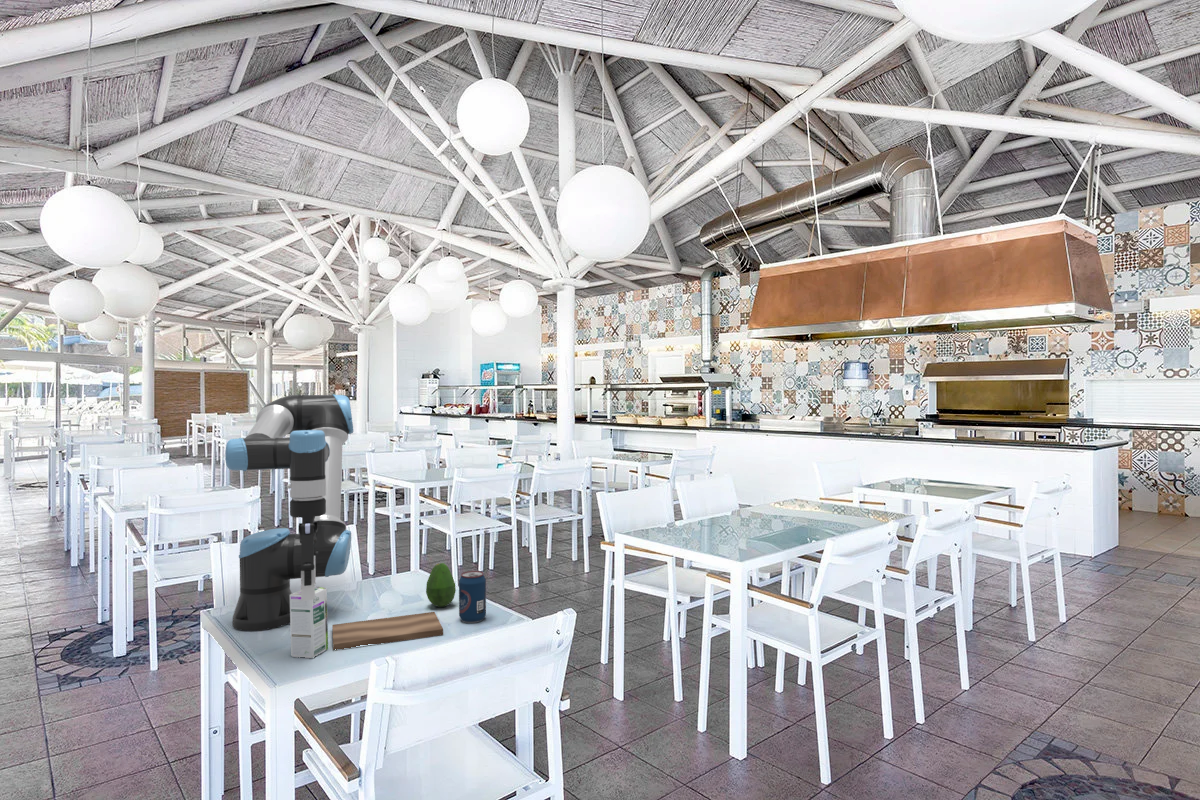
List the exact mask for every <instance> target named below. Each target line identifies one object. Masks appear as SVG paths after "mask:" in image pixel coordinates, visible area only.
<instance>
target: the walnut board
mask: <svg viewBox="0 0 1200 800" xmlns="http://www.w3.org/2000/svg"><path fill="white" fill-rule="evenodd" d="M331 626H332V627H331V628H332V651H333V650H335V649H336V650H335V651H338V650H337V649H342V650H345V649H344V648H349V649H352V648H351V647H356V646H360V645H368V644H377V645H382V644H381V643H384V644H391V643H397V642H404V641H411V640H418V639H425V638H431V637H438V636H439V637H440V636H444V628H443V626H442V624H441V622H440V620H439V618H438V616H437V614H436V612H435V611H431V612H430V611H429V612H421V613H413V614H407V615H406V614H405V615H398V616H391V617H389V616H388V617H384V618H383V617H382V618H374V619H366V620H360V621H351V622H343V623H334V624H331ZM390 642H391V643H390ZM356 648H357V647H356Z"/></svg>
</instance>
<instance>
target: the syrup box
mask: <svg viewBox="0 0 1200 800" xmlns="http://www.w3.org/2000/svg"><path fill="white" fill-rule="evenodd" d="M327 591H328V589H327V588H326V587H322V586H315V599H313V600H304V601H301V589H299V590H297V591H295V592H293V593H292V592H291V593H292V594H290V623H289V624H290V625H289V626H290V654H291V655H290V656H291V658H297V659H298V657H299V659H301V658H300V657H305V658H304V659H309V658H313V657H315V656H316V657H318V656H319V655H320V653H321V654H322V653H324V652H326V651H327V650H328V649H329V630H328V629H329V628H328V627H329V625H328V594H327V593H328V592H327ZM325 650H326V651H325ZM318 654H319V655H318ZM316 657H315V658H316ZM313 659H314V658H313Z"/></svg>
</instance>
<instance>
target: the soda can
mask: <svg viewBox="0 0 1200 800" xmlns="http://www.w3.org/2000/svg"><path fill="white" fill-rule="evenodd" d="M458 615H459V618H460V619H461V622H462V623H465V624H475V623H479V622H480V623H481V622H482V621H483V620H484V619H485V617H486V615H487V579H486V577H485V575H484V571H480V570H467V571H464V572H462V573H461V574H460V578H459V579H458Z"/></svg>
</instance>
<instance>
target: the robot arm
mask: <svg viewBox="0 0 1200 800" xmlns="http://www.w3.org/2000/svg"><path fill="white" fill-rule="evenodd" d="M349 398H350V397H348V396H347V395H344V394H335V393H331V394H292V395H287V396H283V397H279V398H277V399H274V400H272V401H271V402H269V403H267V404H266V405H264V406H263V407H262V408H261V409H260V411H259V412H258V413H257V415H256V418H255V424H254V425H253V427H252V428H251V429H250V430H249V432H248V433H247V434H246V436H245V438H244V437H239V438H231V439H229V440H228V441H227V442H226V444H225V455H224V456H225V458H224V459H225V464H226V467H227V469H228V470H230V471H242V472H248V471H262V470H263V471H266V470H289V484H287V485H286V488H287V489H290V490H289V497H290V501H289V515H290V517H292V518H295V519H296V518H298V519H299V518H302V521H301V522H300V523H298V533H291V531H290V529H289V528H288V527H287V528H286V527H283V528H281V527H280V528H272V529H266V530H263V531H258V532H255V533H252V534H249V535H247V536H245V537H244V538H242V540H241V541H240V543H239V555H238V558H239V595H238V600H237V602H236V607H235V609H234V611H233V614H232V628H233V629H236V630H239V631H244V632H247V631H249V632H252V631H253V632H254V631H255V632H256V631H265V630H271V629H275V628H279V627H284V626H286V625H288V624H290V594H292V591H291V580H296V579H300V590H301V601H304V600H313V599H315V587H316V586H315V585H316V583H317V582H316V578H320V577H321V578H322V577H324V578H329V577H333V576H338V575H342V574H344V573H345V572H346V570H347V568H348V565H349V560H350V555H351V554H350V553H351V547H352V545H351V544H352V531H351V530H349V529H347V525H346V523H345V522H344V521H342V520H341V513H342V512H341V511H342V509H341V508H342V506H341V505H342V504H341V502H342V476H343V475H342V470H343V444H345V443H346V442H347V441H348V439H349V435H351V434H353V433H354V423H353V416H352V415H353V414H352V408H351V407H352V406H351V401H350V399H349ZM286 435H289V437H285V436H286Z"/></svg>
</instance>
